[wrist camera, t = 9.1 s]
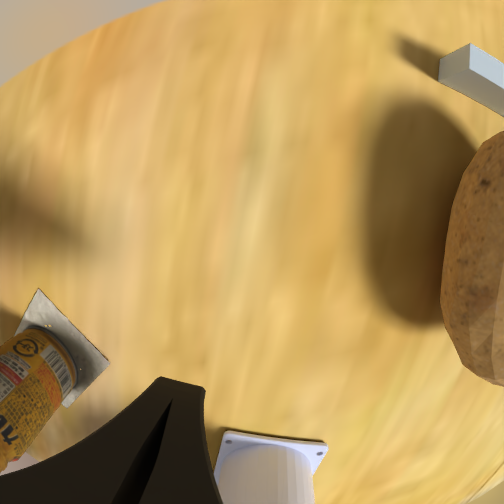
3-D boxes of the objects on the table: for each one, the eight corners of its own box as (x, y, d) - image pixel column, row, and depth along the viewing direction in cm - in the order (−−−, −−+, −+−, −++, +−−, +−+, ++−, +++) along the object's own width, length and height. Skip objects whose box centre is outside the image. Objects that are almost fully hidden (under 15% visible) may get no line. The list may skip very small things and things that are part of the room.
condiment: (8, 347, 21) (-77, 425, 9) (40, 287, 19) (-82, 373, 7) (68, 406, 22) (1, 504, 10) (112, 361, 20) (25, 488, 8)
